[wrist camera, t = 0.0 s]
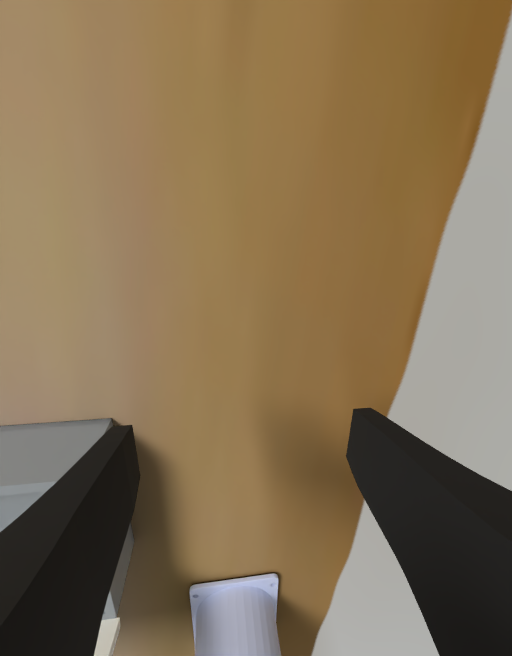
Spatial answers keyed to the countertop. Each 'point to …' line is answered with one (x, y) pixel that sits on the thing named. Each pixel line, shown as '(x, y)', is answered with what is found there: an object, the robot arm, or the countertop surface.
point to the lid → (107, 637)
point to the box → (51, 476)
